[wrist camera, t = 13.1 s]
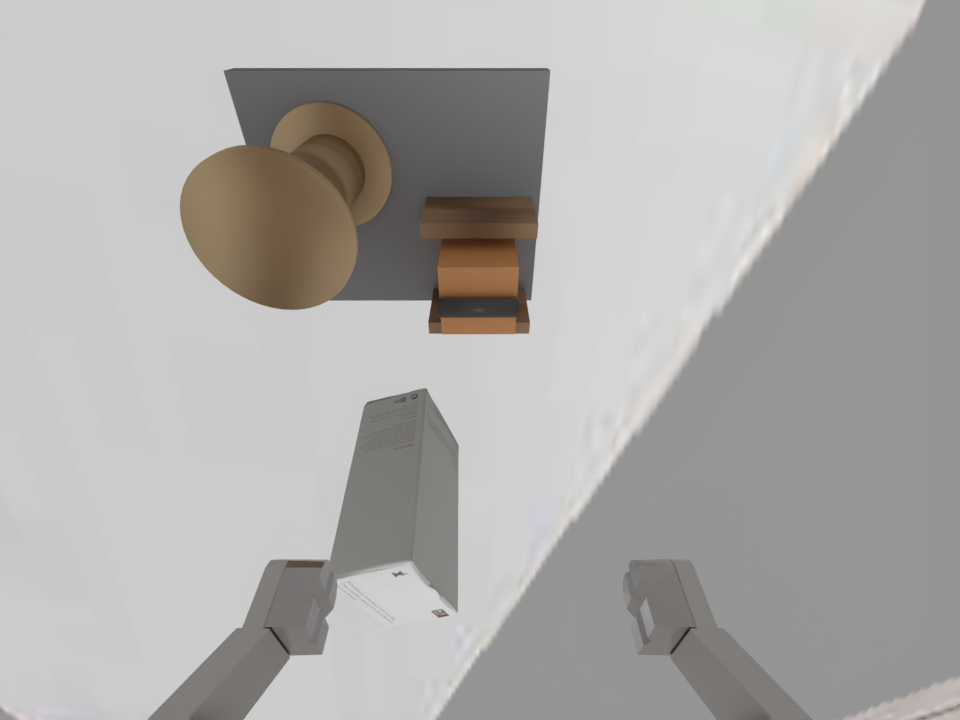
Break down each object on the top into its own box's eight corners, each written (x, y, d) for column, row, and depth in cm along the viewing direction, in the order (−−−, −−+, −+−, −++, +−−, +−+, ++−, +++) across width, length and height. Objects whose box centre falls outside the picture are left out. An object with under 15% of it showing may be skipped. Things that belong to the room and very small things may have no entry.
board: (298, 291, 31) (293, 300, 30) (233, 68, 23) (223, 70, 22) (529, 291, 31) (531, 300, 30) (547, 68, 23) (550, 70, 22)
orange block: (447, 281, 29) (440, 345, 23) (444, 221, 26) (435, 277, 21) (509, 280, 29) (516, 345, 23) (511, 220, 26) (520, 277, 21)
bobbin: (291, 223, 27) (217, 310, 19) (258, 101, 23) (147, 149, 15) (398, 223, 27) (367, 310, 19) (384, 101, 23) (337, 149, 15)
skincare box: (364, 400, 37) (312, 579, 26) (430, 383, 36) (407, 562, 25) (405, 461, 42) (377, 633, 31) (465, 447, 41) (459, 622, 30)
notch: (434, 299, 30) (429, 333, 27) (426, 196, 26) (419, 223, 22) (523, 299, 30) (529, 333, 27) (531, 196, 26) (538, 223, 22)
